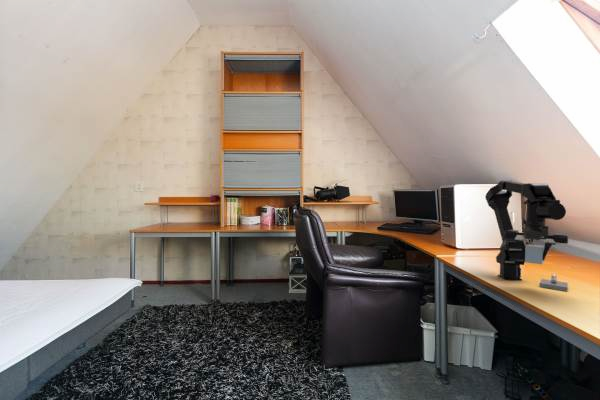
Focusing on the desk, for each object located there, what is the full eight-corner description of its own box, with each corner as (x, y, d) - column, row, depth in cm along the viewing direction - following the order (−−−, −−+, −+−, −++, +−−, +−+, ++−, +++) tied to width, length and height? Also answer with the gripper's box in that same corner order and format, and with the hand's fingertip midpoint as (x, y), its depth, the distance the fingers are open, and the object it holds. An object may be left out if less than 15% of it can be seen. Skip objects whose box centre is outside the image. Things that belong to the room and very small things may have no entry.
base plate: (539, 287, 121) (539, 275, 120) (541, 282, 127) (541, 271, 127) (567, 291, 115) (567, 279, 115) (567, 286, 121) (568, 274, 121)
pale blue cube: (524, 262, 118) (525, 246, 118) (526, 260, 122) (527, 244, 121) (541, 264, 115) (542, 247, 114) (543, 262, 118) (543, 246, 118)
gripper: (501, 217, 118) (500, 258, 118) (567, 220, 105) (565, 267, 106) (507, 215, 126) (506, 254, 127) (569, 218, 114) (567, 262, 114)
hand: (534, 259), depth 118 cm, fingers closed on pale blue cube, 5 cm apart
